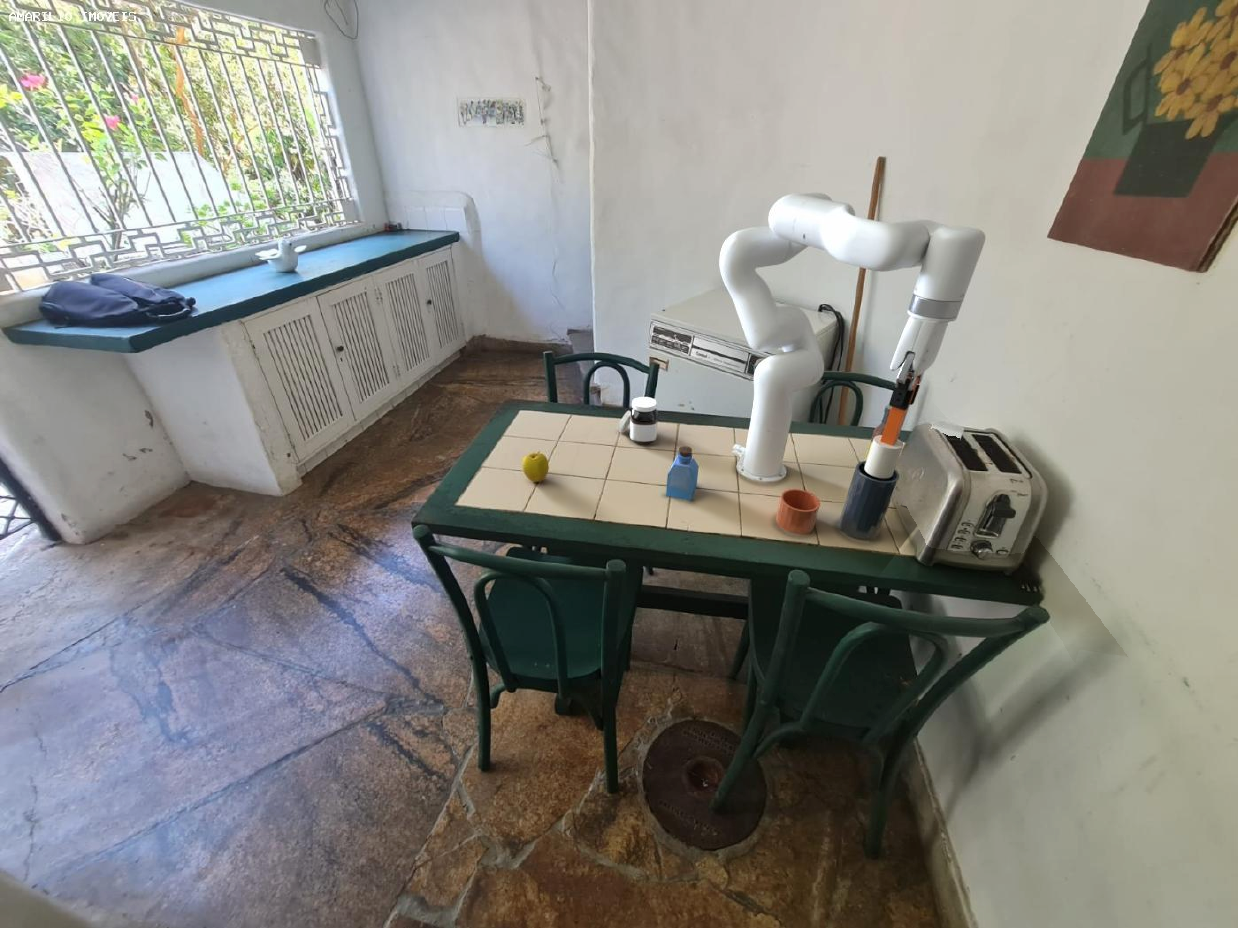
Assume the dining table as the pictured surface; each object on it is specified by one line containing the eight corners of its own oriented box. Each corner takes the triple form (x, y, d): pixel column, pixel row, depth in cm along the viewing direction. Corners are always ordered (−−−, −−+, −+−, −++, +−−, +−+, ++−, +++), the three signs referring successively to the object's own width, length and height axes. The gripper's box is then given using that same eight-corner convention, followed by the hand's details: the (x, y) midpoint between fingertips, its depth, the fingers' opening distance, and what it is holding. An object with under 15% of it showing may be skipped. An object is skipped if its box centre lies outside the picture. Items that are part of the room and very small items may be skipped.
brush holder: (768, 524, 115) (774, 499, 111) (786, 508, 120) (792, 484, 116) (802, 541, 110) (809, 516, 106) (819, 524, 115) (826, 499, 111)
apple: (554, 476, 130) (552, 449, 126) (540, 489, 125) (538, 461, 121) (533, 469, 132) (530, 443, 128) (518, 482, 127) (515, 455, 123)
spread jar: (657, 447, 143) (659, 410, 136) (616, 447, 143) (617, 409, 136) (655, 427, 153) (657, 391, 146) (617, 426, 153) (617, 390, 146)
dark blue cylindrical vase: (831, 530, 113) (849, 471, 105) (846, 514, 118) (865, 456, 110) (867, 548, 109) (890, 487, 100) (882, 531, 114) (905, 471, 105)
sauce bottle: (888, 486, 128) (914, 415, 118) (862, 483, 129) (885, 413, 119) (882, 472, 134) (906, 403, 123) (857, 469, 135) (879, 401, 124)
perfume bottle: (696, 486, 127) (701, 445, 120) (691, 501, 122) (695, 458, 115) (672, 482, 129) (675, 440, 122) (665, 495, 124) (669, 453, 117)
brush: (859, 471, 105) (889, 377, 93) (870, 461, 108) (900, 370, 97) (886, 481, 101) (920, 386, 90) (896, 471, 105) (930, 378, 94)
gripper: (926, 294, 94) (896, 387, 104) (893, 311, 84) (863, 412, 94) (972, 302, 89) (935, 398, 99) (943, 321, 80) (906, 425, 89)
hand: (901, 404), depth 96 cm, fingers closed on brush, 2 cm apart
